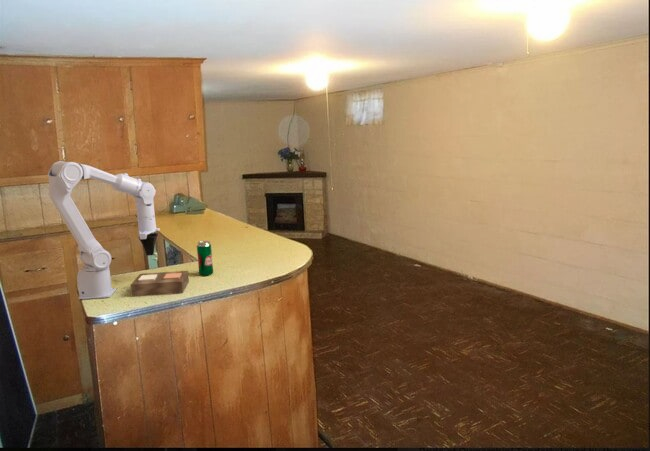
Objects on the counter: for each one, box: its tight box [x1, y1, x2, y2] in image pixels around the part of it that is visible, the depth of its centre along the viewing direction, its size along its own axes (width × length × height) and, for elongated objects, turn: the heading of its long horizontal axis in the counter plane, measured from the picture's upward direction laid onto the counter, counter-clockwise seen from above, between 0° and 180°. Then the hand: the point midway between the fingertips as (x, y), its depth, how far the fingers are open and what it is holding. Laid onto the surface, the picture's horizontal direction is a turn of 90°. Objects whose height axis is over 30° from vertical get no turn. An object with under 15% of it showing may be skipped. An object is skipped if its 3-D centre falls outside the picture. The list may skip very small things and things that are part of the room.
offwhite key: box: [138, 274, 157, 281], centre depth 166 cm, size 5×5×2 cm
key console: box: [130, 270, 190, 297], centre depth 166 cm, size 16×12×4 cm
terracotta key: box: [163, 273, 182, 280], centre depth 167 cm, size 5×5×2 cm
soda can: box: [196, 240, 214, 277], centre depth 181 cm, size 5×5×12 cm
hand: (150, 254), depth 174 cm, fingers closed
